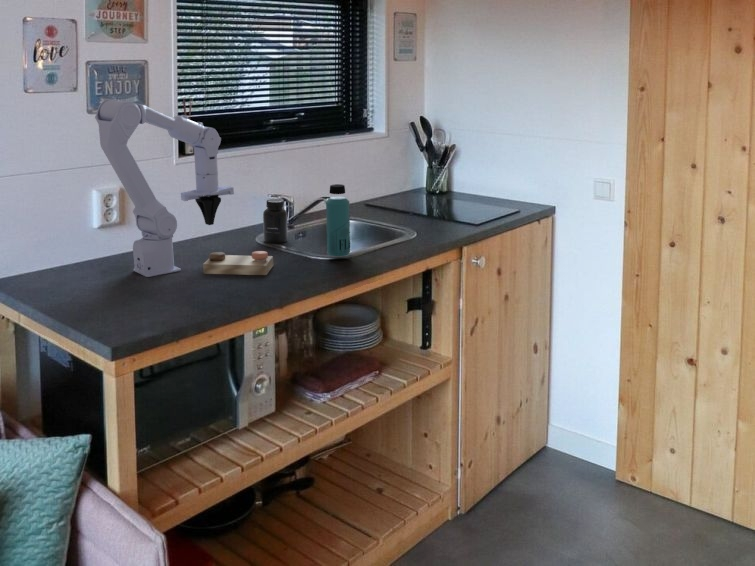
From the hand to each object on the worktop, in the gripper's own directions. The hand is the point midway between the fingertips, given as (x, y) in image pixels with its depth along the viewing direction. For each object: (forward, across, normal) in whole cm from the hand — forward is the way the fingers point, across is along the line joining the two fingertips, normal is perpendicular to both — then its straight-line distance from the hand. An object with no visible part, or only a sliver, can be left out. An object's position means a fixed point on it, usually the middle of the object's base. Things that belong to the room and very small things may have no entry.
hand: (209, 224), depth 226 cm
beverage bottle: (+10, +26, -22) cm, 35 cm away
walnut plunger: (+9, -4, -10) cm, 14 cm away
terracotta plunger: (+9, +4, -18) cm, 20 cm away
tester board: (+9, 0, -14) cm, 17 cm away
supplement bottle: (+10, +24, +5) cm, 26 cm away
